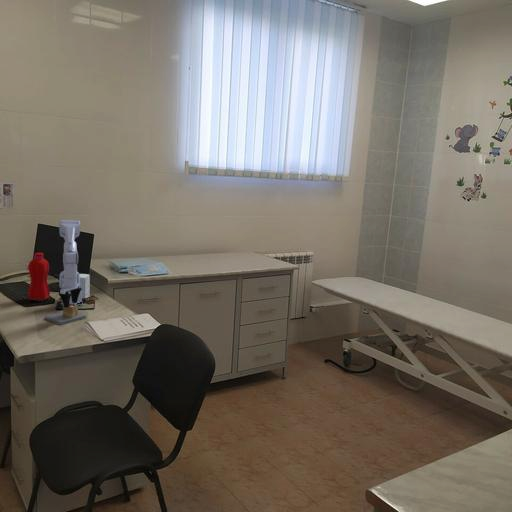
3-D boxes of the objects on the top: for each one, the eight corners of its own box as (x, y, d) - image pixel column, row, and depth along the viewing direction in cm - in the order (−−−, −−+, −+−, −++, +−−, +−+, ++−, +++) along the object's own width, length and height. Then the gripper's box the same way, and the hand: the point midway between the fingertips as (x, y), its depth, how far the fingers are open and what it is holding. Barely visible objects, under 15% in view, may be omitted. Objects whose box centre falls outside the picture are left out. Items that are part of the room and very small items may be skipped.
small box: (78, 296, 272) (78, 273, 270) (89, 297, 273) (90, 274, 270) (73, 300, 264) (73, 276, 262) (85, 301, 265) (85, 277, 262)
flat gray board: (70, 312, 244) (70, 310, 244) (86, 318, 238) (86, 315, 238) (44, 318, 233) (44, 316, 233) (60, 324, 226) (60, 322, 226)
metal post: (70, 317, 238) (70, 305, 237) (73, 318, 237) (73, 305, 236) (67, 317, 236) (67, 305, 235) (69, 318, 235) (70, 306, 234)
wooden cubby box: (68, 313, 239) (68, 303, 238) (77, 314, 238) (78, 304, 237) (62, 316, 234) (62, 306, 233) (72, 317, 233) (72, 307, 233)
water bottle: (31, 296, 267) (30, 250, 262) (51, 297, 266) (51, 252, 262) (22, 301, 257) (22, 253, 253) (43, 302, 257) (43, 255, 253)
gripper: (70, 273, 240) (70, 300, 243) (54, 279, 226) (54, 308, 229) (84, 274, 239) (83, 301, 242) (68, 281, 225) (68, 309, 228)
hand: (70, 305), depth 235 cm, fingers open, 7 cm apart
